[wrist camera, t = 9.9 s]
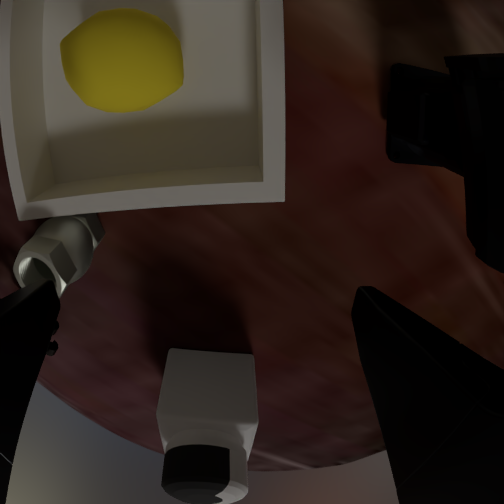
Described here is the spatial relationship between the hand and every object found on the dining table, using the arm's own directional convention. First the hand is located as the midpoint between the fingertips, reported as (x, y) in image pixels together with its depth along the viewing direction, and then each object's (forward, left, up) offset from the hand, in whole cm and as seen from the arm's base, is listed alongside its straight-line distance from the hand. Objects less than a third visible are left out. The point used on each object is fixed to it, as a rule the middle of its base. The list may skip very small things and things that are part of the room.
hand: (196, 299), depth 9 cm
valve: (+13, +5, -12) cm, 18 cm away
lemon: (+4, -8, -11) cm, 14 cm away
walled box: (+4, -8, -12) cm, 15 cm away
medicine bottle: (+2, +17, -12) cm, 21 cm away
